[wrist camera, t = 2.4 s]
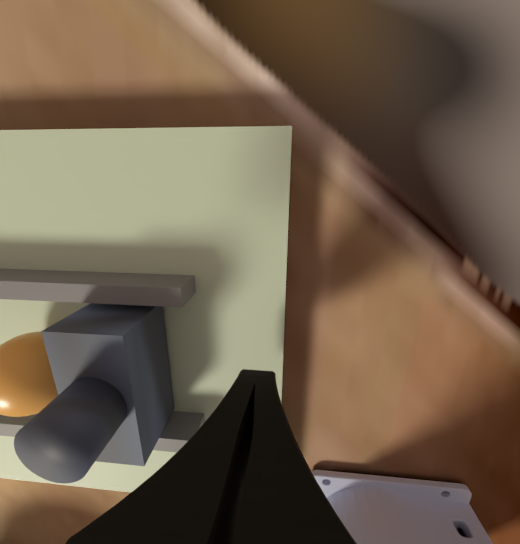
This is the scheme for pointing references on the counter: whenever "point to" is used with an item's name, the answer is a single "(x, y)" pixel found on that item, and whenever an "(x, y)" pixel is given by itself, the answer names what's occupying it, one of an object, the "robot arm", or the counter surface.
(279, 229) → the board
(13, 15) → the counter surface
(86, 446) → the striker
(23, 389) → the ball
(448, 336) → the counter surface
